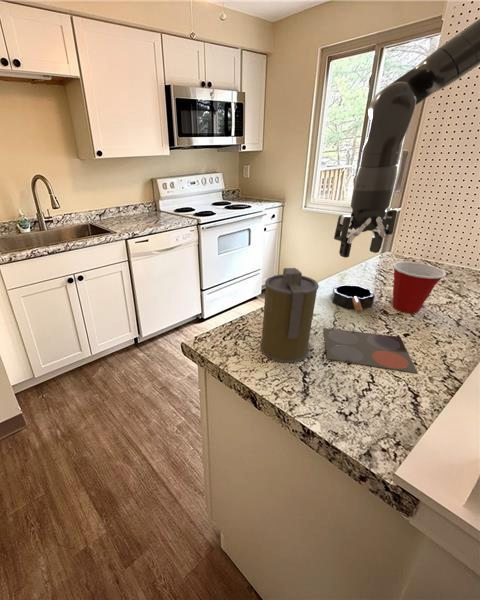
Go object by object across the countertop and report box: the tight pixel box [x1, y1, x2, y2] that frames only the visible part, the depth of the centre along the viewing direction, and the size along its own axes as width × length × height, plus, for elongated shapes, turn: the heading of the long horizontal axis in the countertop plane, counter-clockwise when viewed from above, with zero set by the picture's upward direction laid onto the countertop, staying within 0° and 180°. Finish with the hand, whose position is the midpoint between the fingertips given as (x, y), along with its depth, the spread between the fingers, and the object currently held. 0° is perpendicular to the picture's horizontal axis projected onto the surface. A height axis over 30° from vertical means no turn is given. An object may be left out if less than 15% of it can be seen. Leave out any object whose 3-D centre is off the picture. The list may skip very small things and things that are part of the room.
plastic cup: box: [392, 261, 447, 314], centre depth 83 cm, size 11×11×12 cm
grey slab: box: [323, 327, 419, 374], centre depth 71 cm, size 16×14×1 cm
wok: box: [331, 284, 375, 314], centre depth 88 cm, size 10×17×4 cm, turn 155°
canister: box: [259, 267, 319, 364], centre depth 69 cm, size 11×10×20 cm
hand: (359, 254), depth 78 cm, fingers open, 8 cm apart
